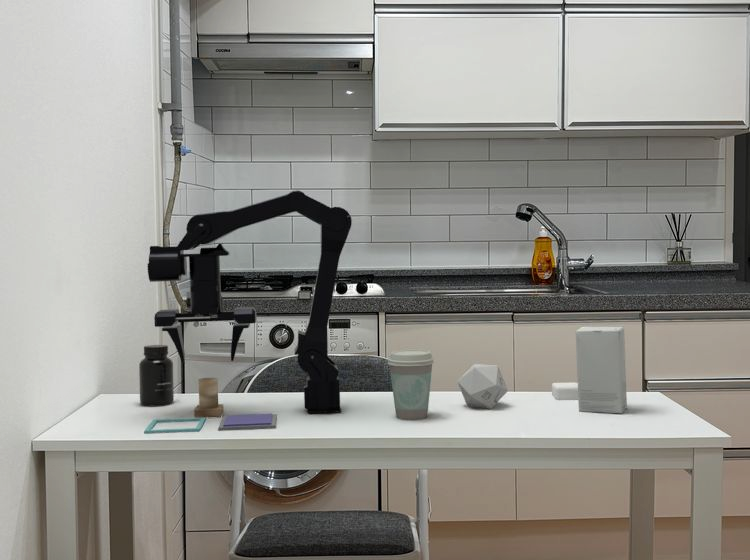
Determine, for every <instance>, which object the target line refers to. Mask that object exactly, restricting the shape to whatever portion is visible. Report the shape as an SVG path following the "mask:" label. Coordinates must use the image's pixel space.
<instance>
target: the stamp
mask: <svg viewBox="0 0 750 560" xmlns="http://www.w3.org/2000/svg"><path fill="white" fill-rule="evenodd" d="M218 379H219V378H217V377H202V378H198V380H197V381H198V404H197V405H196V406H195V408H194V409H193V413H194V416H193V418H204V417H217V418H222V417H223V414H224V403H219V382H218ZM221 416H222V417H221Z"/></svg>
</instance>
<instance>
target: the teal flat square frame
mask: <svg viewBox="0 0 750 560" xmlns="http://www.w3.org/2000/svg"><path fill="white" fill-rule="evenodd" d="M206 419H207V418H206V417H204V418H194V417H187V418H186V417H184V418H181V417H180V418H162V419H161V418H159V419H158V418H157V419H152V421H151V422H150V423H149V425H148V426H147V427H146V428H145V429H144V431H143V433H144V434H156V433H155V432H166V433H183V432H184V433H185V432H186V433H187V432H189V433H190V432H201V430H202V429H203V426H204V424H205V422H206ZM171 421H180V422H198V423H197V425H196V427H189V428H187V427H185V428H165V429H153V428H154V427H155V426H156V425H155V424H158V423H172V422H171ZM154 425H155V426H154ZM151 429H152V430H151ZM153 432H154V433H153Z"/></svg>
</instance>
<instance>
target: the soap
mask: <svg viewBox="0 0 750 560" xmlns="http://www.w3.org/2000/svg"><path fill="white" fill-rule="evenodd" d="M551 394H552V395H551V396H552V397H553V398H554V399H555V400H557V401H572V400H573V401H575V400H576V401H578V381H577V382H575V381H574V382H569V381H568V382H553V383H552V384H551Z"/></svg>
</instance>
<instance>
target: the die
mask: <svg viewBox="0 0 750 560" xmlns="http://www.w3.org/2000/svg"><path fill="white" fill-rule="evenodd" d="M456 382H457V385H458V387H459V389H460V391H461V393H462V396H463V399H464V402H465V404H466V406H467V407H472V408H479V409H480V408H482V409H488V410H492V409H493V408H494V406H496V404H497V403H498V402H499V401H500V400H501V399H502V398H503V397H505V395H506V394H507V393H508V391H509V390H508V386H507V384H506V381H505V379H504V377H503V374H502V373H501V369H500V367H499V365H494V364H483V363H481V364H480V363H474V364H473V365H472V366H471V367H469V368H468V370H466V372H465V373H464V374H463V375H462V376H461V377H460V378H459V379H458V380H457V381H456Z"/></svg>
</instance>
